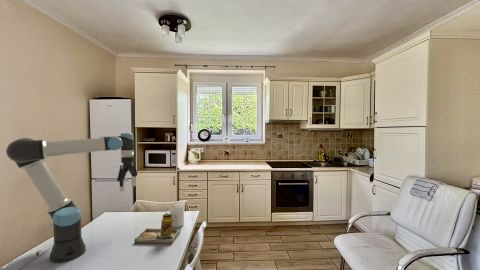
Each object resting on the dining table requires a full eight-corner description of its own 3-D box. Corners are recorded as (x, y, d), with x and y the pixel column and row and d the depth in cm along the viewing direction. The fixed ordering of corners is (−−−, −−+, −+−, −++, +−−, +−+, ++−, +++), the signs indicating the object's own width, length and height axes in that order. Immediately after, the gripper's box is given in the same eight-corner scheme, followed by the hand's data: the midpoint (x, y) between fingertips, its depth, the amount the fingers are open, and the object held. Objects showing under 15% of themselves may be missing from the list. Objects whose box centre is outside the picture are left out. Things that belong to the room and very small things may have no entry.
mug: (185, 222, 160) (185, 207, 160) (182, 228, 151) (181, 211, 151) (168, 222, 160) (167, 207, 160) (164, 228, 151) (163, 211, 151)
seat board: (171, 244, 130) (171, 239, 130) (134, 243, 132) (134, 239, 132) (179, 232, 144) (179, 229, 144) (146, 232, 146) (145, 228, 146)
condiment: (161, 237, 131) (163, 216, 132) (157, 234, 138) (159, 213, 139) (173, 236, 135) (175, 215, 136) (169, 232, 142) (171, 212, 143)
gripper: (122, 158, 137) (122, 193, 138) (142, 154, 162) (142, 183, 163) (110, 159, 138) (110, 193, 138) (132, 154, 163) (132, 183, 163)
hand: (128, 188), depth 151 cm, fingers open, 13 cm apart
